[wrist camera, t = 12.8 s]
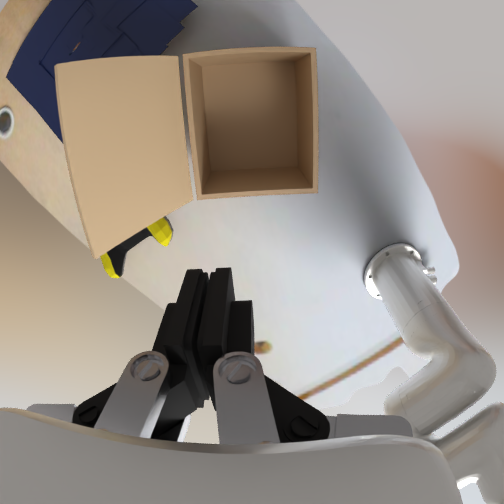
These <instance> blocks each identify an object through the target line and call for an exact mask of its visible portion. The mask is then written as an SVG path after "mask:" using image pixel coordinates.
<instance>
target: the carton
mask: <svg viewBox="0 0 504 504" xmlns="http://www.w3.org/2000/svg"><path fill="white" fill-rule="evenodd" d="M183 68H184V81H185V93H186V104H187V115H188V125H189V135H190V144H191V153H192V162H193V170H194V179H195V187H196V194H197V200H203V199H216V198H229V197H245V196H261V195H281V194H307V193H318V82H317V59H316V48H310V47H248V48H232V49H220V50H210V51H202V52H194V53H187V54H183Z"/></svg>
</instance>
